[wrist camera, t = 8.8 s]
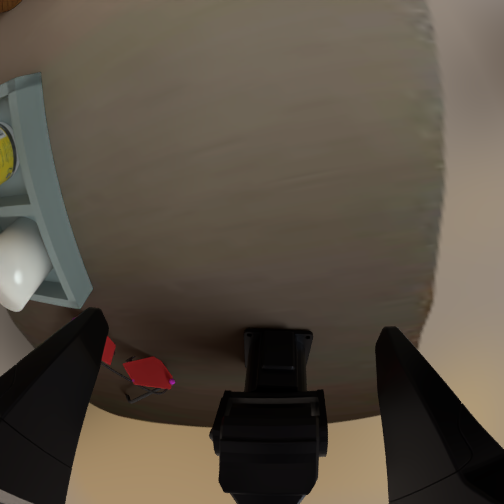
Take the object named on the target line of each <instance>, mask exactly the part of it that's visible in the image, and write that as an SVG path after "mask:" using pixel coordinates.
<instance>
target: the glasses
mask: <svg viewBox="0 0 504 504" xmlns="http://www.w3.org/2000/svg"><path fill="white" fill-rule="evenodd" d="M76 317H77V316H76ZM73 319H74V318H73ZM73 319H72V320H73ZM115 347H116V345H115V343H113V342H112V341H111V339H110V338H109V337H108V336H107V339H106V343H105V347H104V352H103V356H102V361H104V362H105V363H107V364H109V365H111V361H112V357H113V354H114V355H115ZM134 357H136V356H134ZM134 357H133V358H134ZM133 358H132V357H131V358H129V359H127V360H126V361H127V363H123V366H124V368H125V369H126V371H127V373H128V375H129V376H130V378H131V380H130V379H128V378H127V377H125V376H123V375H122V374H120V373H118V372H116V371H115V370H113V369H112V368H110V367H108V366H107V365H105V364H103V363H102V362H101V364H102V365H103V366H105V367H106V368H108V369H110V370H111V371H113V372H115V373H116V374H118V375H120V376H121V377H123V378H125V379H126V380H128V381H130V382H132V383H134V384H135V385H137V386H139V387H141V388H143V389H144V390H146V391H149V392H147V393H145V394H143V395H141V396H139V397H137V398H135V399H133V400H130V397H129V396H128V395H126V398H127V400H128V402H129V403H134V402H136V401H138V400H140V399H142V398H144V397H147V396H149V395H150V394H152V393H154V394H163V393H165V392H166V391H167V389H171V384H174V383H175V380H174V379H172V375H171V374H170V373H169V371H168V370H167V368H166V367H165V366H164V364H163V363H162V361H160V360H158V359H157V358H155V357H153V356H152V357H148V358H144V359H140V360H136V361H132V359H133ZM126 361H125V362H126ZM128 361H129V362H128ZM141 385H142V386H141ZM143 386H149V387H156V388H155V389H153V390H149V389H146V388H144V387H143ZM162 388H164V389H165V390H164V391H163V392H156V391H158V390H160V389H162Z"/></svg>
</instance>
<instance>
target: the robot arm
mask: <svg viewBox="0 0 504 504" xmlns="http://www.w3.org/2000/svg"><path fill="white" fill-rule="evenodd" d="M108 330H109V327H108V323H107V321H106V319H105V317H104V315H103V312H102V310H101V309H99V308H94V307H89V308H88V309H86V310H85V311H83V312H82V313H81V314H79V315H78V316H77V317H75V318H74V319H73V320H71V321H70V322H69V323H67V324H66V325H65V326H64V327H62V328H61V329H60V330H58V331H57V332H56V333H54V334H53V335H52V336H51V337H49V338H48V339H47V340H45V341H44V342H43V343H42V344H40V345H39V346H38V347H37V348H35V349H34V350H33V351H32V352H30V353H29V354H28V355H27V356H25V357H24V358H23V359H22V360H20V361H19V362H18V363H17V365H14V366H13V367H12V368H11V369H9V370H8V371H7V372H6V373H4V374H3V375H2V376H1V377H0V504H65V501H66V495H67V490H68V485H69V480H70V475H71V470H72V465H73V461H74V456H75V452H76V448H77V444H78V440H79V436H80V432H81V428H82V425H83V421H84V418H85V414H86V410H87V407H88V404H89V401H90V397H91V394H92V391H93V388H94V385H95V381H96V378H97V375H98V372H99V369H100V365H101V360H102V356H103V352H104V347H105V343H106V339H107V335H108ZM249 333H250V334H249ZM312 340H313V333H312V332H311V331H293V330H268V329H246V330H245V331H244V349H245V367H246V368H247V371H246V380H245V389H244V392H231V391H228V390H225V392H224V395H223V398H221V401H220V405H219V408H218V411H217V415H216V418H215V421H214V425H213V427H212V429H211V431H210V434H209V437H210V439H211V440H212V441H213V444H214V451H215V454H216V455H217V456H220V463H219V466H220V467H219V483H220V485H221V487H222V489H223V491H224V492H225V493H230V494H231V495H232V497H233V498H234V500H235V501H236V503H237V504H300V502H301V501H302V500H303V498H304V497H305V496H306V495H308V494H309V493H310V492H311V490H312V488H313V487H314V485H315V483H316V481H317V478H318V461H319V457H326V454H327V447H328V425H327V415H326V407H325V399H324V391H323V389H321V390H317V391H307V382H306V364H307V360H308V356H309V352H310V348H311V344H312ZM375 354H376V370H377V389H378V399H379V405H380V412H381V420H382V427H383V436H384V445H385V455H386V466H387V477H388V478H387V479H388V495H389V504H504V449H503V448H502V447H501V446H500V445H499V444H498V443H497V442H496V441H495V440H494V439H493V437H492V436H491V435H489V433H488V432H487V431H486V430H485V429H484V428H483V427H482V426H481V425H480V424H479V423H478V421H477V420H476V419H475V418H474V417H473V416H472V414H471V413H470V412H469V411H468V409H467V408H466V407H465V406H464V404H461V401H460V400H459V398H458V397H457V396H456V395H455V394H454V392H453V391H452V390H451V389H450V387H449V386H448V385H447V384H446V383H445V381H444V380H443V379H442V378H441V377H440V376H439V374H438V373H437V372H436V371H435V370H434V368H433V367H432V366H431V365H430V364H429V363H428V362H427V360H426V359H425V358H424V357H423V356H422V355H421V354H420V352H419V351H418V350H417V349H416V348H415V347H414V346H413V344H412V343H411V342H410V341H409V340H408V339H407V338H406V337H405V335H404V334H403V333H402V332H401V331H400V330H399V329H398V328H397V327H395V326H390V327H384V328H383V329H382V331H381V334H380V336H379V338H378V340H377V342H376V346H375Z"/></svg>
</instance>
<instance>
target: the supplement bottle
mask: <svg viewBox="0 0 504 504" xmlns="http://www.w3.org/2000/svg"><path fill="white" fill-rule="evenodd" d="M18 166H19V158H18V154H17V149H16V144H15V139H14V133H13V129H12V128H11V127H10V126H9V125H8V124H6V123H4V122H0V185H1V184H2V183H4V182H5V181H7V180H8V179H9V178H11V177H12V176H13V175H14V174H15V172H16V171H17V169H18Z"/></svg>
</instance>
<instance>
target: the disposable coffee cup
mask: <svg viewBox="0 0 504 504" xmlns="http://www.w3.org/2000/svg"><path fill="white" fill-rule="evenodd" d="M21 1H22V0H0V13H1V12H6V11H9V10H11V9H12V8H14V7H15V6H16V5H18V4H19V3H20V2H21Z"/></svg>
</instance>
